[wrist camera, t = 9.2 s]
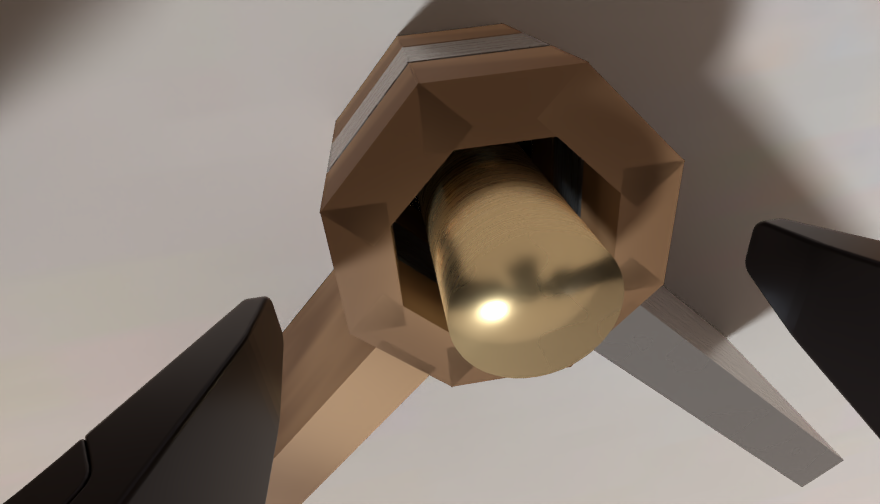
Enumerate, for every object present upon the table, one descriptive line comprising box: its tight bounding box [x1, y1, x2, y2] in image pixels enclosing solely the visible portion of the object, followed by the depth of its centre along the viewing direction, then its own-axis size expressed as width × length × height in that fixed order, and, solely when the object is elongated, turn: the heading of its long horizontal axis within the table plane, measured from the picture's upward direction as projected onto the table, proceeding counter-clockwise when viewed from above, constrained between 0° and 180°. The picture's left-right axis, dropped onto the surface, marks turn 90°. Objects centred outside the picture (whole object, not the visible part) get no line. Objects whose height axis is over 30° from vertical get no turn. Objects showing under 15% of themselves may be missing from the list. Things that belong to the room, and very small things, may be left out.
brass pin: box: [418, 142, 624, 378], centre depth 12 cm, size 3×3×8 cm
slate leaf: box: [327, 33, 843, 487], centre depth 15 cm, size 18×7×6 cm, turn 50°
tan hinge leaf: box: [265, 23, 685, 504], centre depth 14 cm, size 18×7×6 cm, turn 140°
